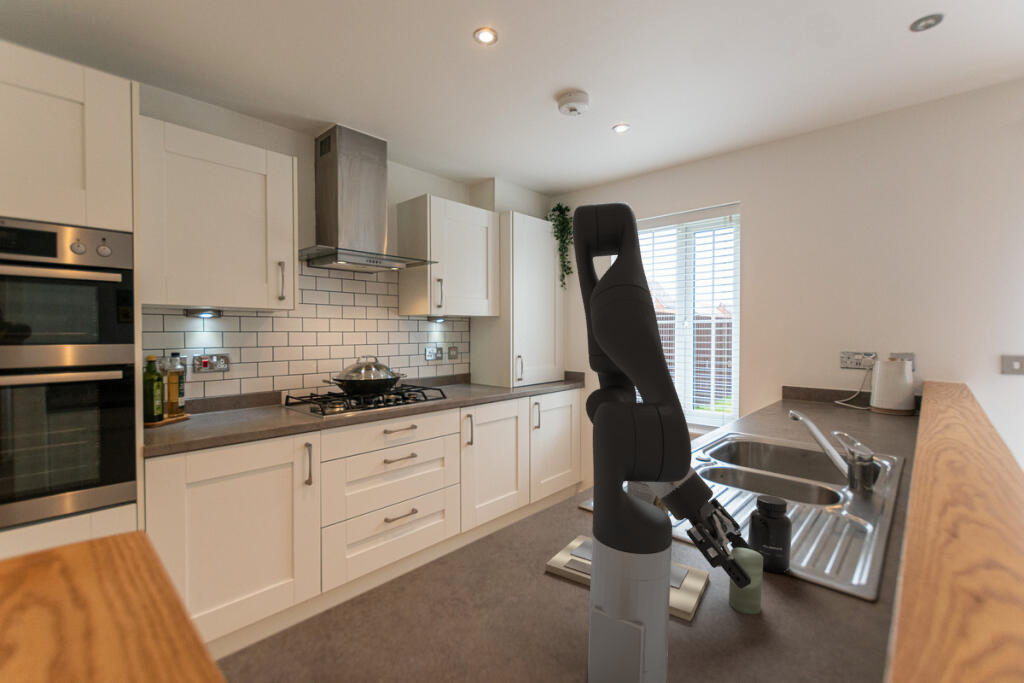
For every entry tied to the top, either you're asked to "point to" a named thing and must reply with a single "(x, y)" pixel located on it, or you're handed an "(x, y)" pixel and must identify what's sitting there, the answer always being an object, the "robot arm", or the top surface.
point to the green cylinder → (751, 594)
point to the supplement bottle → (771, 533)
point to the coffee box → (645, 494)
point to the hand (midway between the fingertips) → (750, 572)
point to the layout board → (683, 578)
